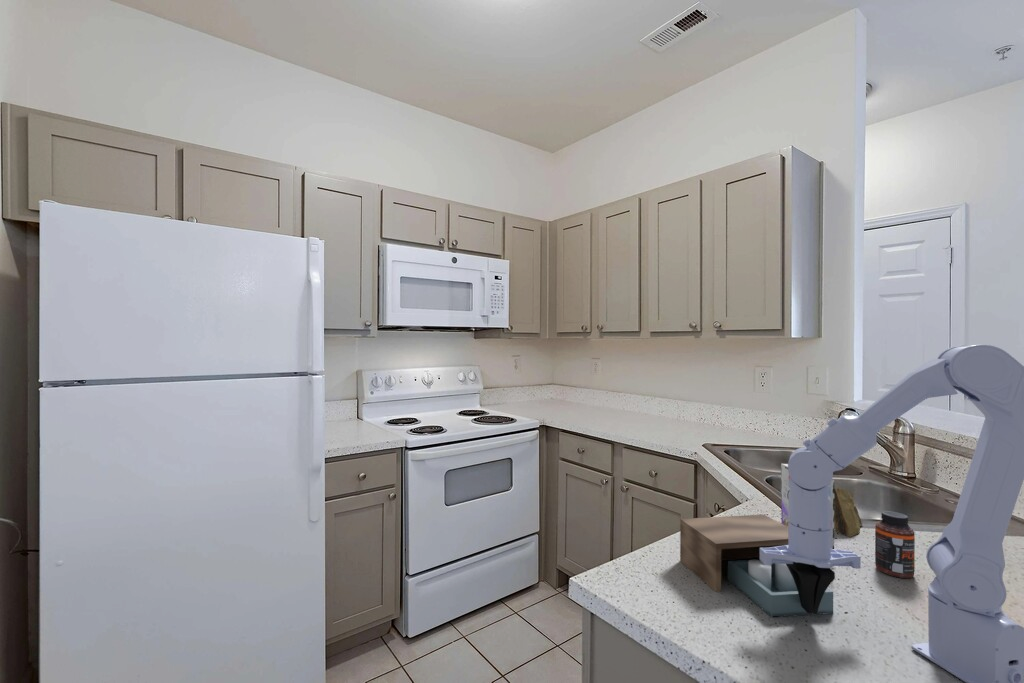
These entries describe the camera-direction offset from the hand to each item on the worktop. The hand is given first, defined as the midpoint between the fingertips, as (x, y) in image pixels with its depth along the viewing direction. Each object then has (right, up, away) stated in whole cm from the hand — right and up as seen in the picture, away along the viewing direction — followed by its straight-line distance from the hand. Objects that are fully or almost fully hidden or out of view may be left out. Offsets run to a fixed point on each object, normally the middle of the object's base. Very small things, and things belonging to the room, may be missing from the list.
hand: (809, 610), depth 73 cm
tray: (-1, -2, +8) cm, 8 cm away
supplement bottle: (+28, -3, +17) cm, 32 cm away
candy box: (+18, -3, +29) cm, 35 cm away
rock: (+35, -3, +38) cm, 52 cm away
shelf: (-3, -2, +16) cm, 16 cm away
